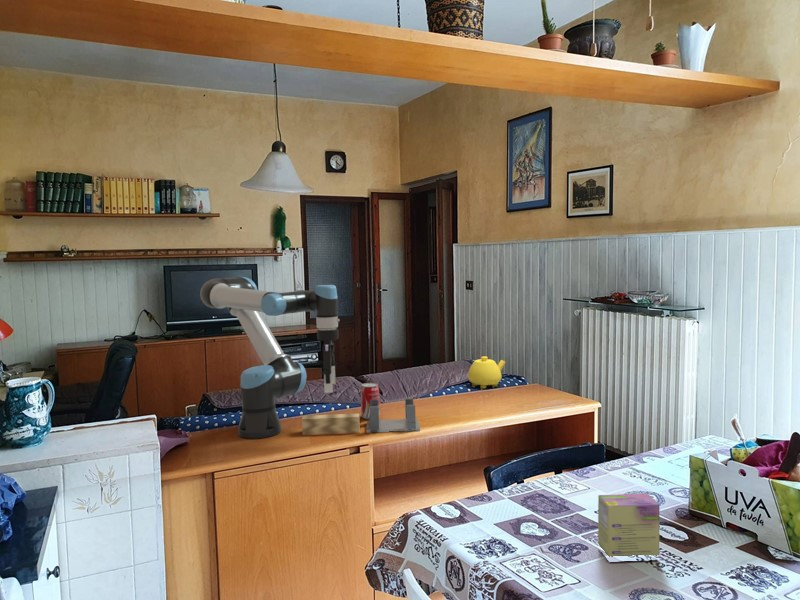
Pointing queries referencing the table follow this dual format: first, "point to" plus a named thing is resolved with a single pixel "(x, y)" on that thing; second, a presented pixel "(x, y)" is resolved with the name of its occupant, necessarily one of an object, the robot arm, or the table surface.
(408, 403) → the bracket mount
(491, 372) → the teapot
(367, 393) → the soda can
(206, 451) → the table surface
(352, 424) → the rail
